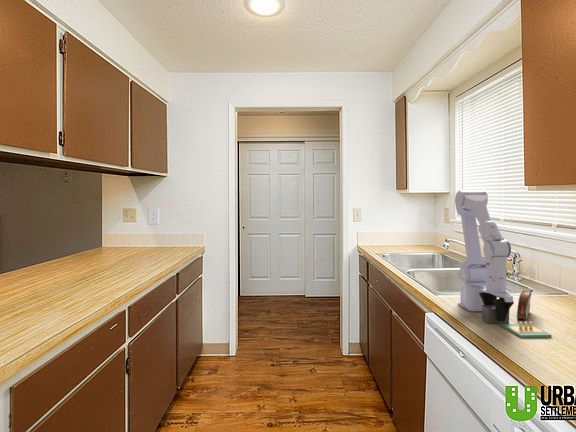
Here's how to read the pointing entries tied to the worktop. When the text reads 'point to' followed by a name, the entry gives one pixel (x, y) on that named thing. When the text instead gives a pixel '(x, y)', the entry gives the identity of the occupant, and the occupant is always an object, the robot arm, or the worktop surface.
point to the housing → (492, 315)
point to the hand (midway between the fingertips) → (495, 317)
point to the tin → (524, 305)
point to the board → (526, 330)
